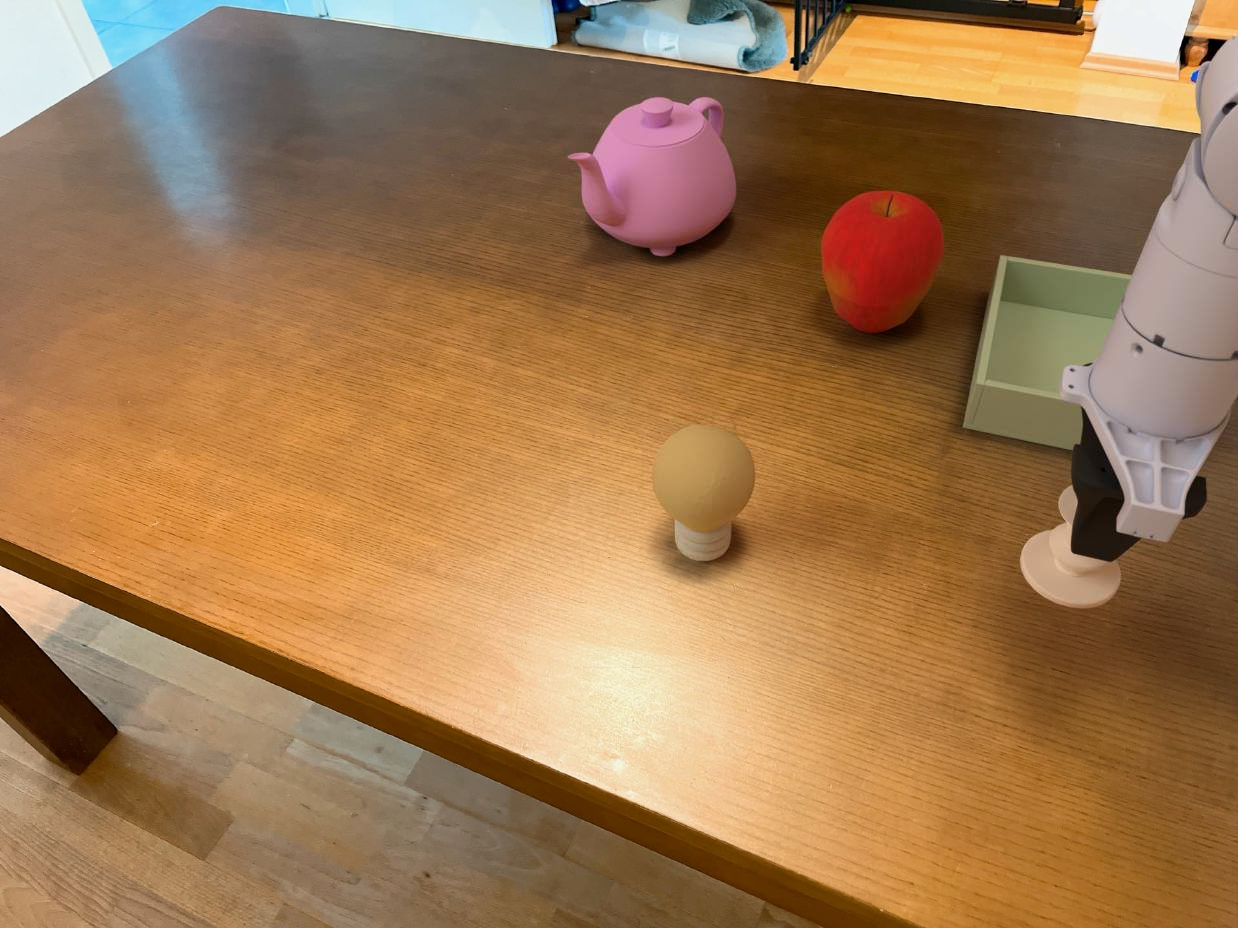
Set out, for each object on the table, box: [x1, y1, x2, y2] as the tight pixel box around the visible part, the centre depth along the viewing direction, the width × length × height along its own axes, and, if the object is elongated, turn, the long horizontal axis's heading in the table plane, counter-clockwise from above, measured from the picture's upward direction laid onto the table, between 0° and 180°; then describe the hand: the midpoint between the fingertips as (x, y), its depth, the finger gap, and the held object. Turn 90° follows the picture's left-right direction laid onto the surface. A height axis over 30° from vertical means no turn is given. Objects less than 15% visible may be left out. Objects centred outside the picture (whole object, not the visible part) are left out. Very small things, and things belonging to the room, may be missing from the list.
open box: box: [962, 254, 1132, 451], centre depth 70 cm, size 13×16×4 cm
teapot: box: [567, 96, 737, 257], centre depth 84 cm, size 20×14×12 cm
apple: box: [820, 190, 946, 334], centre depth 73 cm, size 9×9×12 cm
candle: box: [1019, 484, 1122, 609], centre depth 48 cm, size 5×5×10 cm
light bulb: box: [651, 423, 756, 562], centre depth 59 cm, size 6×6×10 cm
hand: (1093, 520), depth 49 cm, fingers closed on candle, 4 cm apart
